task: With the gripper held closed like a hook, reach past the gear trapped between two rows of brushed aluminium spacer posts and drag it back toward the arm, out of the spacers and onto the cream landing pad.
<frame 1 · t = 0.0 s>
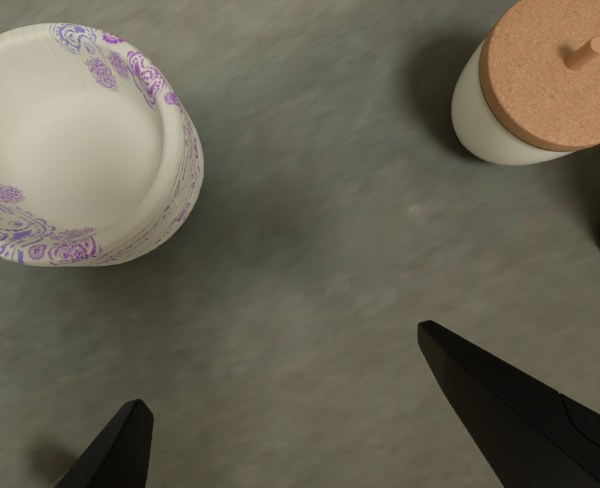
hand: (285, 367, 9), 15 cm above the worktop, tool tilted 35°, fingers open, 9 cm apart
lidded jar: (485, 126, 26), on the worktop
paper bowls: (127, 179, 25), on the worktop
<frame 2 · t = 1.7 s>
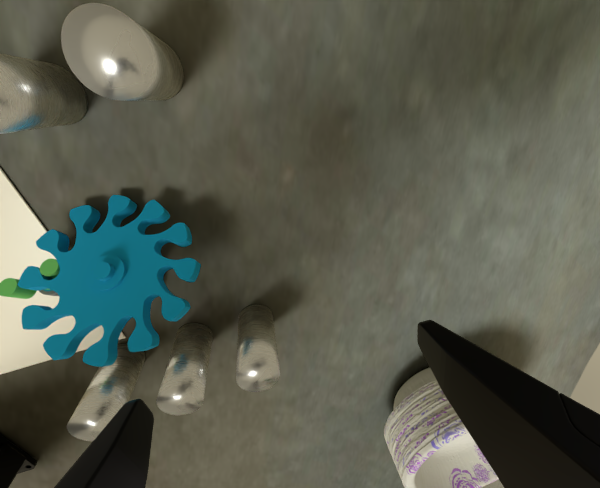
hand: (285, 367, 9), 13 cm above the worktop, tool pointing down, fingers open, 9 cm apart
spacer posts: (141, 242, 20), on the worktop
gear: (127, 245, 20), on the worktop, touching landing pad
paper bowls: (431, 388, 34), on the worktop
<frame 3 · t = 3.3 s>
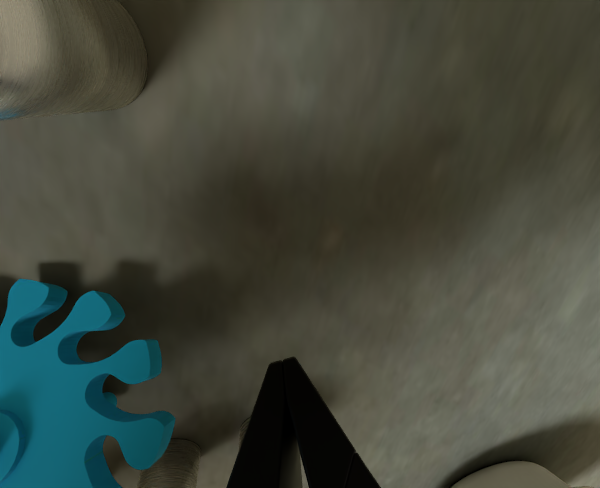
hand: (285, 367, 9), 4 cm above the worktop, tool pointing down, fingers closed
spacer posts: (82, 342, 12), on the worktop
gear: (60, 346, 12), on the worktop, touching landing pad
paper bowls: (484, 483, 27), on the worktop
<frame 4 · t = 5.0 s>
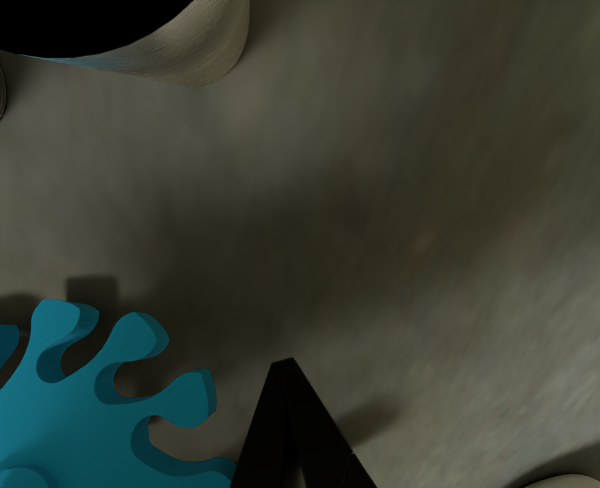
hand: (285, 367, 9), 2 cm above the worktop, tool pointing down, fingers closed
spacer posts: (135, 362, 10), on the worktop
gear: (86, 372, 10), on the worktop, touching gripper
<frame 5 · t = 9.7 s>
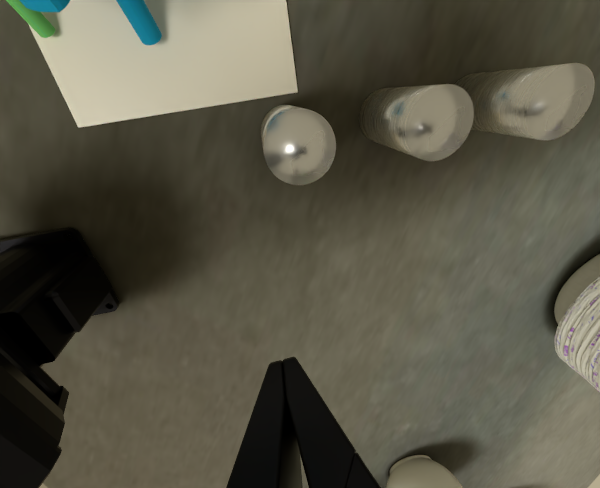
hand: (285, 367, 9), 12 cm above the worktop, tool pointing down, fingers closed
lidded jar: (409, 465, 39), on the worktop
paper bowls: (598, 284, 27), on the worktop
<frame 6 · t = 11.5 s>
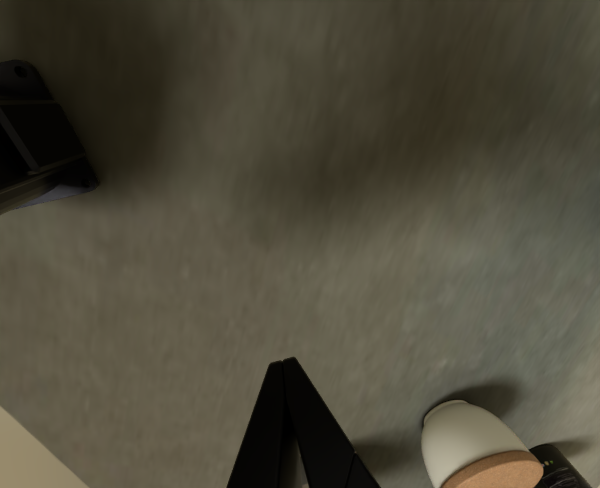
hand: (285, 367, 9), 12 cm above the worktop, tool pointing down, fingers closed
lidded jar: (445, 413, 35), on the worktop
supplement bottle: (533, 454, 45), on the worktop
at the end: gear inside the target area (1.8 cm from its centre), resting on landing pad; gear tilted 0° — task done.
